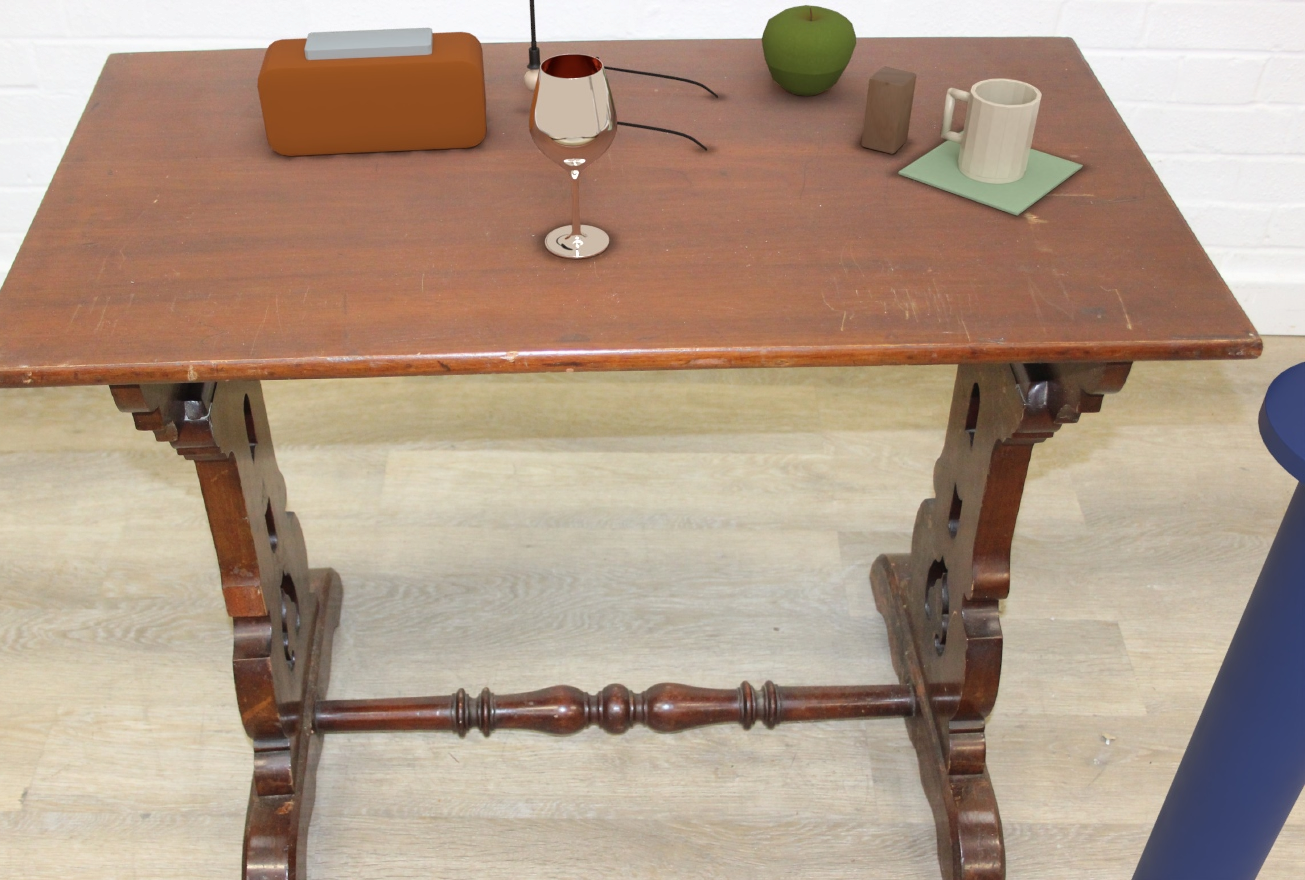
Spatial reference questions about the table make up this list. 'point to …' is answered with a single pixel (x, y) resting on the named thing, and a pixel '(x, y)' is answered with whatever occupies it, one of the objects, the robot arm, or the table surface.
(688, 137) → the glasses
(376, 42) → the alarm clock
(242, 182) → the table surface
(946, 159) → the mat
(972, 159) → the mug
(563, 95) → the wineglass
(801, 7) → the apple
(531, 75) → the light fixture
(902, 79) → the wooden block
